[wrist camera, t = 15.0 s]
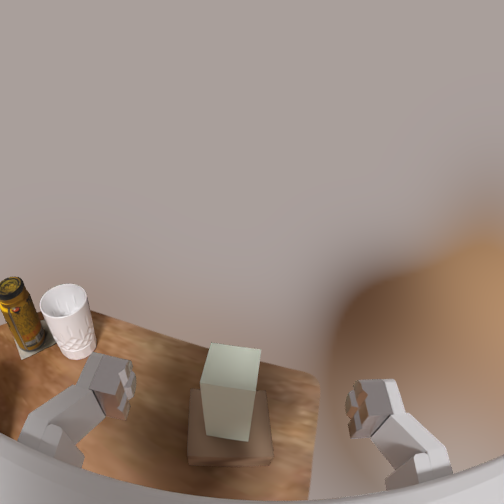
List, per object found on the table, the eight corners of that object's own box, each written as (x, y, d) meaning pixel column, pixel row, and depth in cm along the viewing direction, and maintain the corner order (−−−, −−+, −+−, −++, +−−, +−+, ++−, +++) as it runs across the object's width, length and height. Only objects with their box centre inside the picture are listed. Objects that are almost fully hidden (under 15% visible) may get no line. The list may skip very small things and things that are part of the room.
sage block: (206, 435, 32) (199, 382, 26) (214, 402, 37) (211, 342, 30) (248, 441, 32) (255, 391, 26) (253, 407, 36) (261, 349, 30)
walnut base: (189, 466, 32) (186, 455, 30) (191, 403, 40) (190, 388, 38) (268, 466, 33) (273, 456, 31) (262, 405, 41) (265, 390, 39)
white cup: (105, 331, 49) (93, 285, 43) (93, 366, 42) (76, 320, 37) (66, 326, 48) (51, 281, 42) (51, 359, 41) (31, 314, 36)
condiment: (12, 334, 43) (-11, 281, 37) (49, 317, 48) (31, 264, 42) (22, 360, 39) (-6, 306, 33) (61, 342, 45) (41, 286, 38)
